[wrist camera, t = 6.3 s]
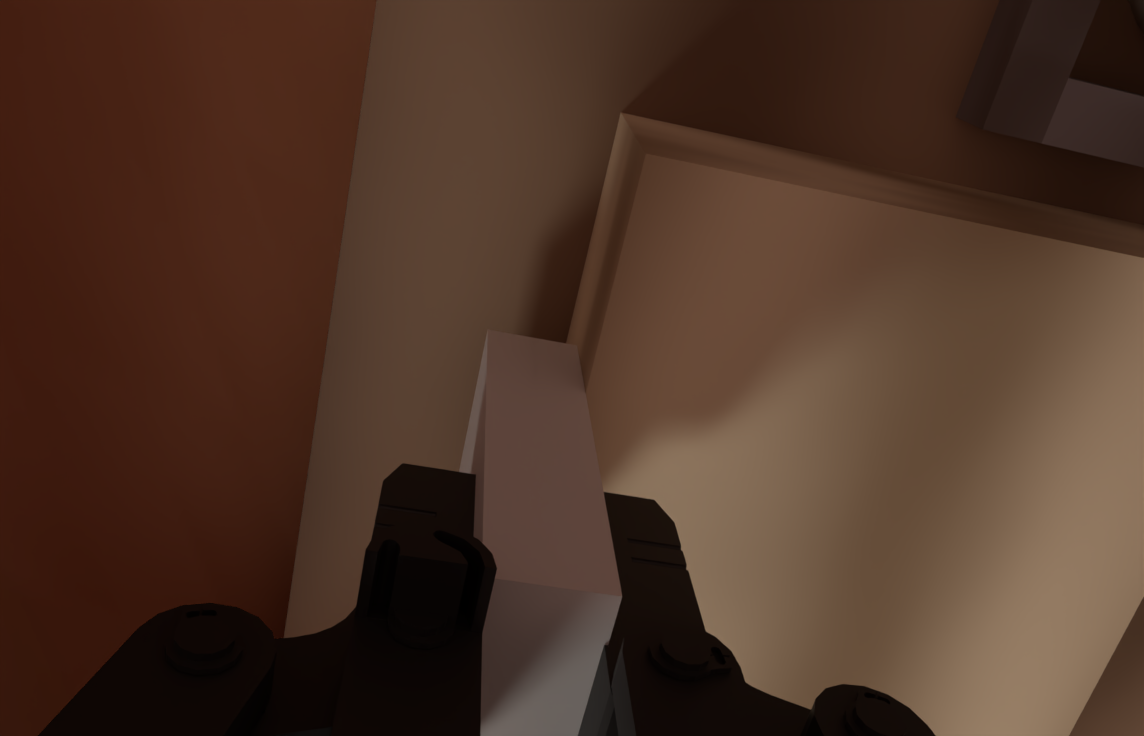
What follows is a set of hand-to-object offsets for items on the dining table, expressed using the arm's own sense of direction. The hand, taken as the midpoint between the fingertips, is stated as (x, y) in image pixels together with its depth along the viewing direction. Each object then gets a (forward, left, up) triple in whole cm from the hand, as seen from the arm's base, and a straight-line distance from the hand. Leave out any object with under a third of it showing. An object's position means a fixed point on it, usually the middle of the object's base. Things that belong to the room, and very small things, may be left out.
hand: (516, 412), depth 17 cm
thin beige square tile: (+6, 0, -1) cm, 6 cm away
